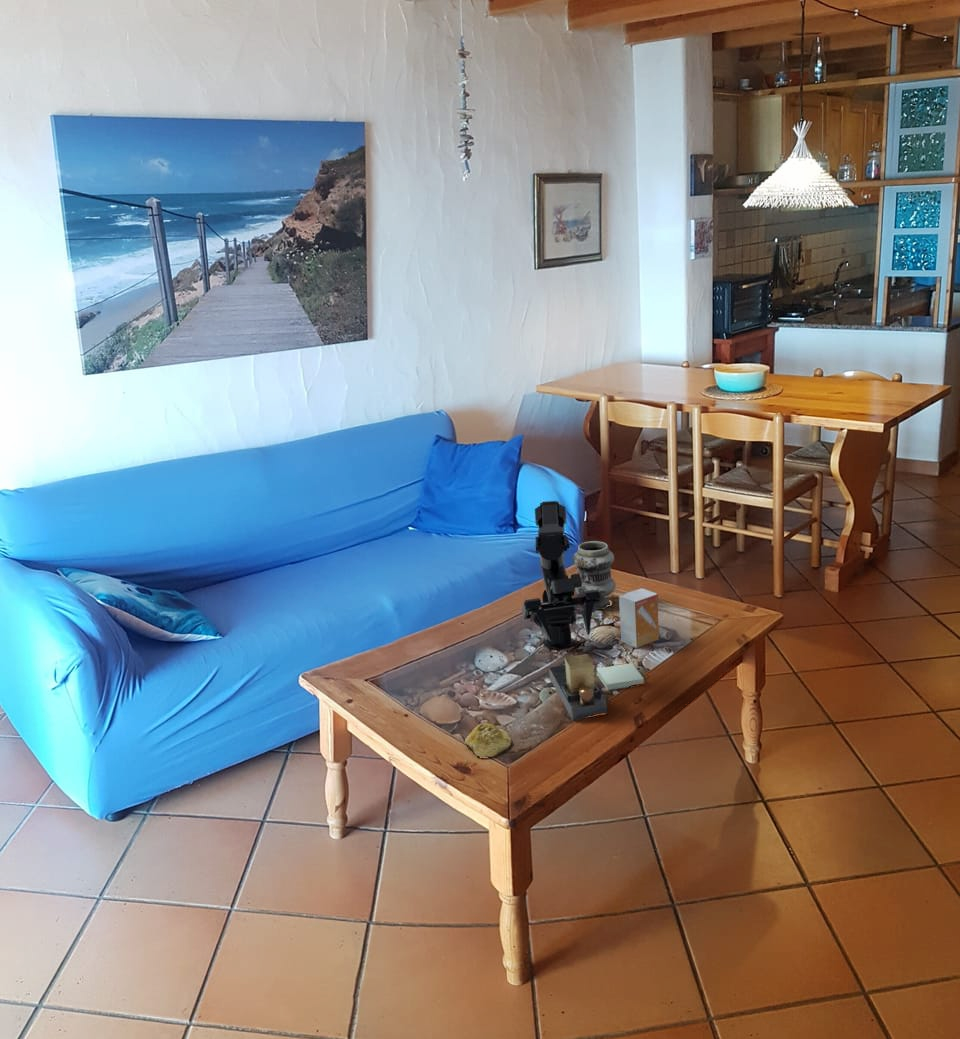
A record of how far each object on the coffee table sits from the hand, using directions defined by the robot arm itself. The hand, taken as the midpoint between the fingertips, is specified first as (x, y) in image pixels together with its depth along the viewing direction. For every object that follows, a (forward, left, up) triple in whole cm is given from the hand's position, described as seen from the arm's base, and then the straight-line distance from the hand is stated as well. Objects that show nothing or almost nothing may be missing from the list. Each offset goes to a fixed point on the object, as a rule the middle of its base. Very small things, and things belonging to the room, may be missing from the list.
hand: (569, 637), depth 226 cm
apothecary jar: (-37, +39, -14) cm, 56 cm away
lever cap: (+7, -3, -10) cm, 13 cm away
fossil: (+7, -30, -14) cm, 34 cm away
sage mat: (+4, +11, -13) cm, 18 cm away
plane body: (+3, -2, -13) cm, 14 cm away
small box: (-9, +30, -14) cm, 34 cm away
